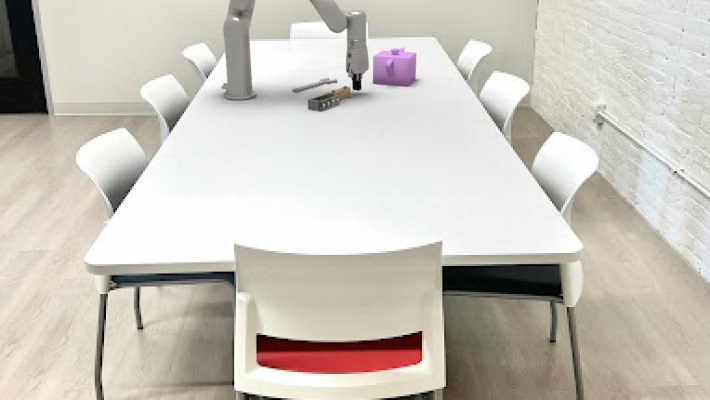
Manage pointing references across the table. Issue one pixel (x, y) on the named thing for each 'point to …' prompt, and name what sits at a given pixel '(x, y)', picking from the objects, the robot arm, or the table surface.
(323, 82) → the adjustable wrench
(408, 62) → the teapot
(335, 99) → the chain end grey
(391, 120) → the table surface
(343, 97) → the master link
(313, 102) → the chain end dark
